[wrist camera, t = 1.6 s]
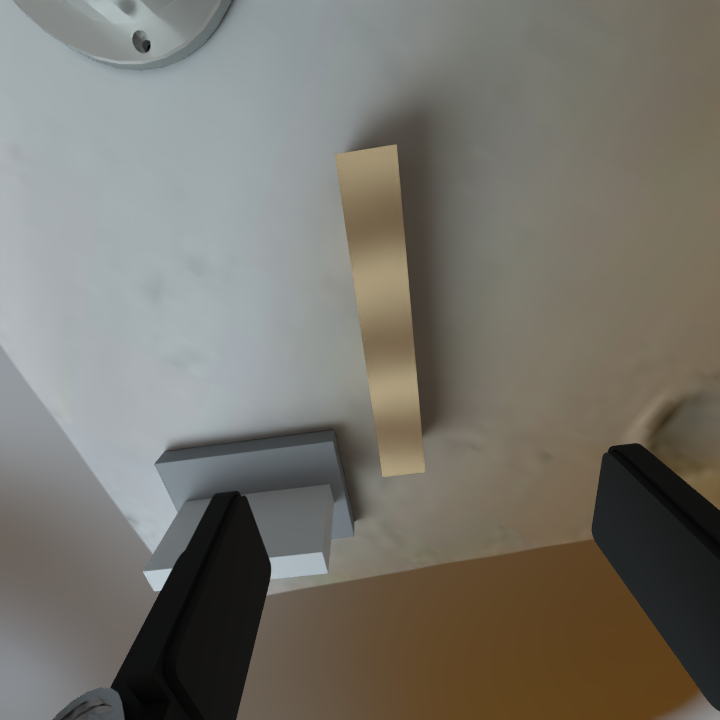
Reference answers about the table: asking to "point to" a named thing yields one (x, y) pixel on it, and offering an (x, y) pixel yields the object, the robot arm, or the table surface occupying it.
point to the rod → (383, 301)
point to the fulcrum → (261, 499)
